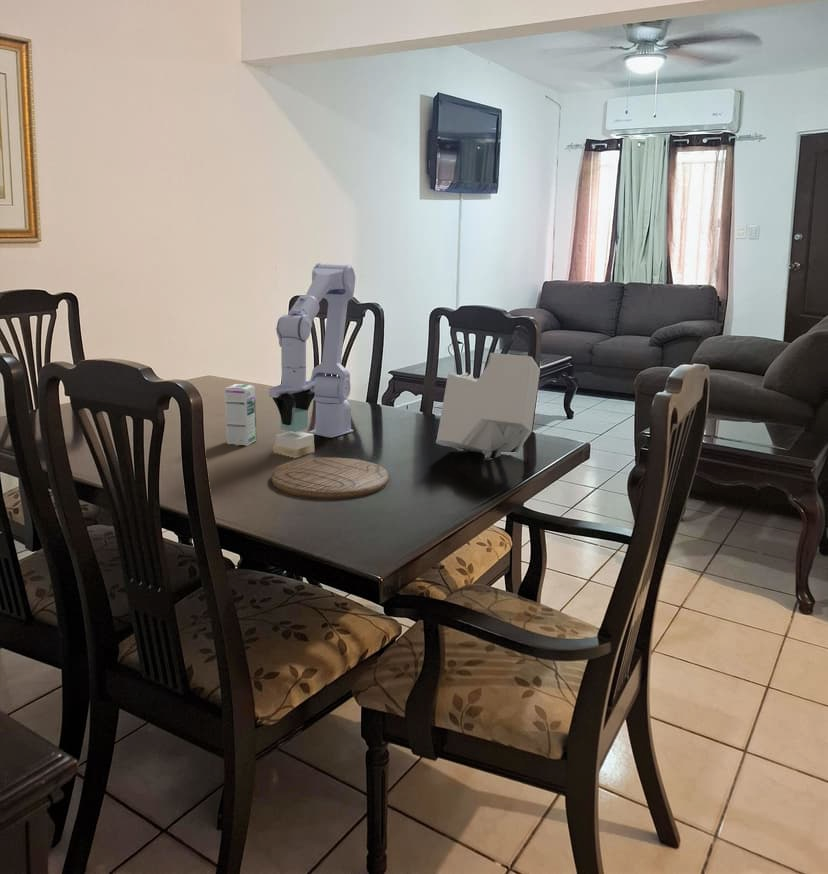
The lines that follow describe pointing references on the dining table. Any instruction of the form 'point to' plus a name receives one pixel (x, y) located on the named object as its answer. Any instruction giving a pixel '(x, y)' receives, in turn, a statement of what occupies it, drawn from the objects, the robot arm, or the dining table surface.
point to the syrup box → (240, 414)
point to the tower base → (293, 451)
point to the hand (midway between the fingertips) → (293, 422)
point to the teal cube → (297, 420)
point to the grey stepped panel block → (490, 406)
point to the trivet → (329, 478)
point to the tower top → (294, 439)
